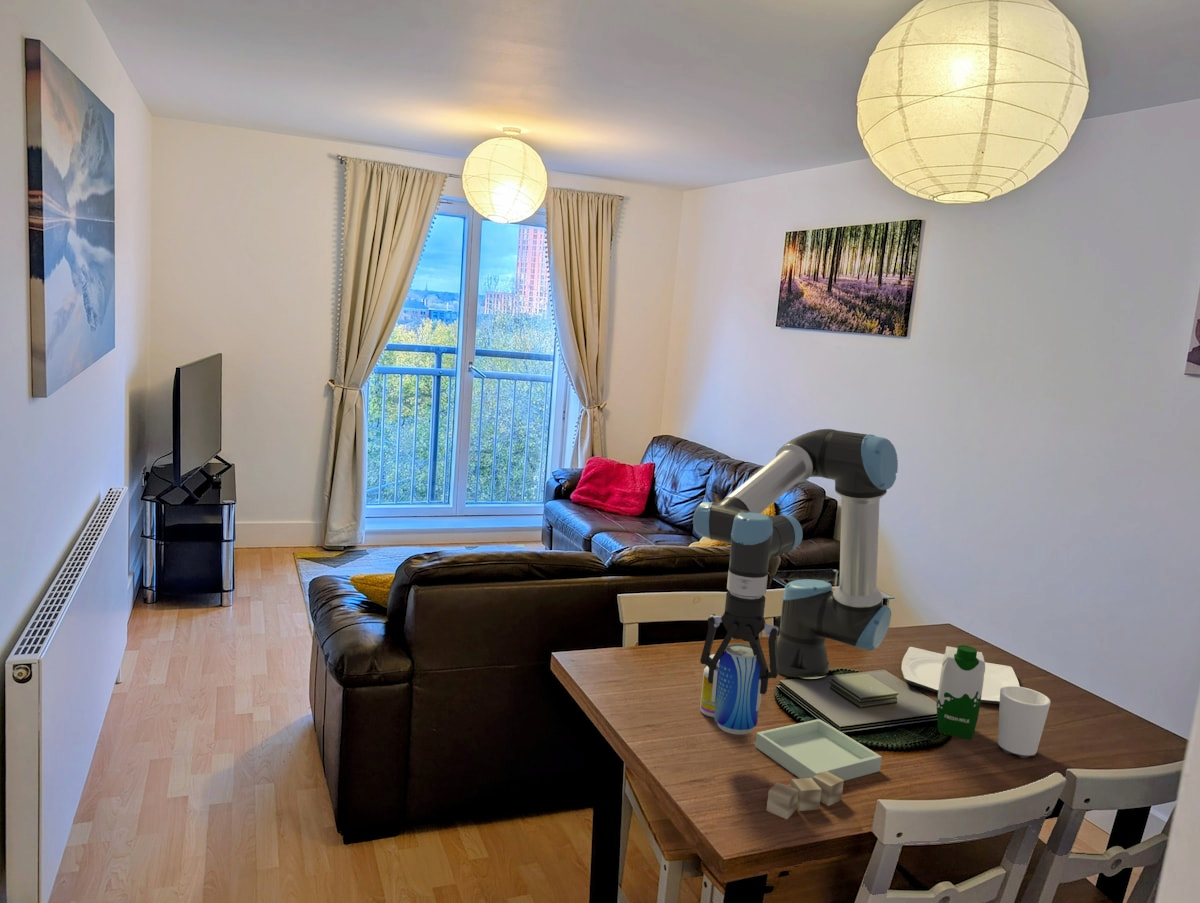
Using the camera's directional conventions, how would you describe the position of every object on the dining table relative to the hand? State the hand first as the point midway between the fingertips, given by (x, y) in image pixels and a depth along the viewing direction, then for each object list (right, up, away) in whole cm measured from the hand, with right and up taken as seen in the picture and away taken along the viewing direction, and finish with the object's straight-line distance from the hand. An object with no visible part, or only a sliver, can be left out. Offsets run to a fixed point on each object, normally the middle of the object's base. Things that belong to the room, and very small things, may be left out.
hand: (735, 703), depth 171 cm
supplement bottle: (-1, -9, +23) cm, 25 cm away
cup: (+63, -15, +16) cm, 67 cm away
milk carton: (+53, -13, +24) cm, 59 cm away
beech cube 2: (+11, -15, -12) cm, 22 cm away
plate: (+66, -10, +53) cm, 85 cm away
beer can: (0, -5, +1) cm, 5 cm away
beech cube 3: (+6, -15, -15) cm, 22 cm away
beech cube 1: (+15, -15, -9) cm, 24 cm away
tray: (+17, -13, +5) cm, 22 cm away
